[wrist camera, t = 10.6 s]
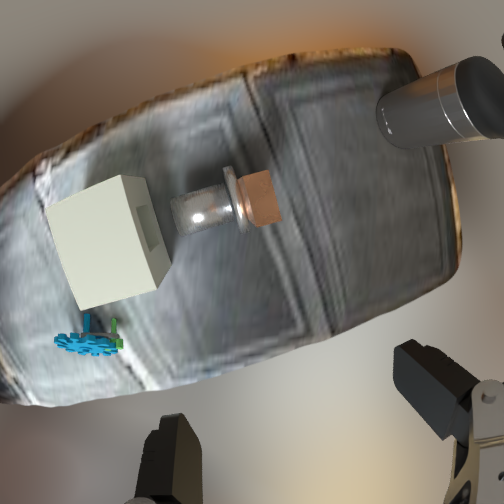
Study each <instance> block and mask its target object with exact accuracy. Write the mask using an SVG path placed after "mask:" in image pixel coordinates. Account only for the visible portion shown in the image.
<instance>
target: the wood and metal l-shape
mask: <svg viewBox="0 0 504 504" xmlns="http://www.w3.org/2000/svg"><path fill="white" fill-rule="evenodd" d="M222 169H223V174H224V178H225V182H226V186H227V189H228V193H229V197H230V200H231V204H232V207H233V211H234V214H235V217H236V221H237V224H238V227H239V230H240V233H241V234H244V233H248V232H250V225H249V220H250V221H251V222H252V223H253V224H254V225H255V226H256V227H260V226H264V225H267V224H271V223H274V222H278V221H282V219H281V215H280V211H279V207H278V204H277V200H276V196H275V192H274V188H273V185H272V181H271V177H270V174H269V170H265V171H261V172H257V173H253V174H250V175H246V176H242V177H241V178H239V179H238V180H237V177H236V175H235V172H234V169H233V167H232V165H231V166H227V167H223V168H222ZM170 205H171V211H172V215H173V219H174V222H175V225H176V228H177V230H178V232H179V234H180V235H181V236H182V237H183V236H186V235H189V234H192V233H196V232H199V231H202V230H206V229H209V228H212V227H216V226H219V225H223V224H226V223H229V222H233V221H234V217H233V213H232V209H231V206H230V202H229V199H228V195H227V192H226V188H225V185H224V183H220V184H217V185H213V186H210V187H207V188H203V189H200V190H197V191H193V192H190V193H187V194H184V195H181V196H177V197H174V198H171V199H170ZM248 219H249V220H248Z"/></svg>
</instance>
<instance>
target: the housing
mask: <svg viewBox="0 0 504 504" xmlns="http://www.w3.org/2000/svg"><path fill="white" fill-rule="evenodd" d="M45 211H46V215H47V218H48V222H49V226H50V229H51V232H52V236H53V239H54V242H55V245H56V249H57V252H58V255H59V258H60V260H61V263H62V266H63V269H64V272H65V274H66V277H67V280H68V282H69V285H70V287H71V290H72V292H73V295H74V297H75V299H76V302H77V304H78V306H79V309H80V311H82V310H85V309H89V308H93V307H96V306H100V305H103V304H107V303H111V302H114V301H118V300H121V299H125V298H128V297H132V296H136V295H139V294H143V293H146V292H150V291H153V290H157V289H158V287H159V285H160V284H161V282H162V280H163V279H164V277H165V275H166V274H167V272H168V270H169V269H170V267H171V266H172V264H171V261H170V259H169V256H168V253H167V250H166V247H165V244H164V240H163V237H162V234H161V231H160V228H159V225H158V221H157V218H156V215H155V212H154V208H153V205H152V201H151V198H150V194H149V191H148V187H147V184H146V180H145V178H142V177H135V176H128V175H121V174H120V175H117V176H115V177H113V178H110V179H108V180H105V181H103V182H101V183H98V184H96V185H94V186H91V187H89V188H87V189H85V190H82V191H80V192H78V193H76V194H74V195H71V196H69V197H67V198H65V199H63V200H61V201H59V202H57V203H55V204H53V205H51V206H49V207H47V208H45Z"/></svg>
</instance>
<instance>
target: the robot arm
mask: <svg viewBox="0 0 504 504" xmlns="http://www.w3.org/2000/svg"><path fill="white" fill-rule="evenodd" d="M501 41H502V46H503V48H504V34H503V36H502V40H501ZM376 116H377V121H378V125H379V127H380V130H381V131H382V133H383V135H384V136H385V137H386V139H387V140H388V141H389V142H390V143H391V144H393V145H394V146H396V147H398V148H401V149H410V148H417V147H425V146H432V145H440V144H448V143H455V142H466V141H474V140H484V139H496V138H501V139H504V74H503V73H502V72H501V70H500V69H499V68H498V67H497V66H495V64H493V63H492V62H491V61H490V60H488V59H486V58H484V57H481V56H473V57H470V58H467V59H465V60H462V61H460V62H458V63H455V64H453V65H450V66H448V67H445V68H443V69H441V70H439V71H436V72H434V73H432V74H429V75H427V76H425V77H422V78H420V79H418V80H416V81H414V82H411V83H409V84H407V85H405V86H403V87H401V88H398V89H396V90H394V91H392V92H390V93H388V94H386V95H384V96H383V97H382V98H381V99H380V100H379V102H378V105H377V110H376ZM393 381H394V384H395V386H396V388H397V390H398V391H399V392H400V393H401V394H402V395H403V396H404V398H405V399H406V400H407V401H408V402H409V403H410V404H411V405H412V407H413V408H414V409H415V410H416V411H417V412H418V413H419V415H420V416H421V417H422V418H423V419H424V420H425V421H426V423H427V424H428V425H429V426H430V427H431V428H432V429H433V430H434V432H435V433H436V434H437V435H438V436H439V437H440V438H441V439H442V440H444V439H446V438H447V437H448V436H450V435H453V436H454V437H455V440H454V448H453V460H452V470H451V478H450V484H449V487H448V490H447V493H446V495H445V498H444V502H443V504H504V382H503V383H501V382H499V381H497V380H484V381H482V382H481V381H480V380H478V379H477V378H476V377H474V376H473V375H472V374H470V373H469V372H468V371H467V370H465V369H464V368H463V367H462V366H460V365H459V364H458V363H456V362H454V360H452V359H451V358H450V357H447V355H446V354H445V353H443V352H442V351H441V350H439V349H437V348H434V347H431V346H428V345H426V346H424V347H423V346H422V345H421V344H419V343H418V342H417V341H416V340H413V339H411V340H409V341H407V342H405V343H403V344H401V345H398V346H397V347H395V348H394V363H393ZM141 462H142V463H141V464H140V469H139V474H138V480H137V485H136V491H135V496H134V498H133V499H131V500H128V501H127V502H126V503H124V504H203V493H202V449H201V445H200V442H199V439H198V437H197V436H196V434H195V432H194V431H193V429H192V427H191V426H190V424H189V422H188V421H187V419H186V417H185V416H184V415H183V414H182V413H178V414H172V415H164V416H162V417H161V420H160V424H159V430H152V431H151V433H150V434H149V436H148V437H147V439H146V440H145V444H144V448H143V454H142V458H141Z"/></svg>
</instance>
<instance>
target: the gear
mask: <svg viewBox="0 0 504 504" xmlns="http://www.w3.org/2000/svg"><path fill="white" fill-rule="evenodd" d="M108 339H109V340H110V341H109V340H108ZM54 343H55V344H57V347H58V348H66V351H68V352H76V351H77V352H78V354H81V355H86V353H91V355H92V356H99V353H103V355H104V356H111V353H112V354H116V353H118V349H123V339H119V334H116V319H112V326H111V333H90V314H87V313H85V314H84V325H83V333H81V338H79V334H78V333H70V338H69V337H67V335H66V334H58V336H56V337H54Z"/></svg>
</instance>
